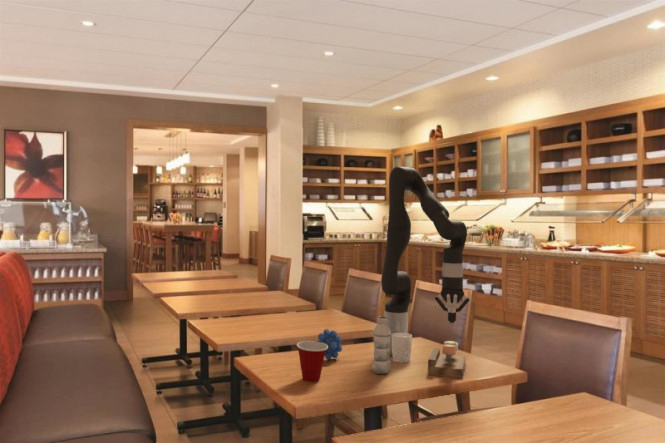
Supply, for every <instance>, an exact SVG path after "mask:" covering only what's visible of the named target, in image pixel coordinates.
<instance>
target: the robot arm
mask: <svg viewBox="0 0 665 443" xmlns="http://www.w3.org/2000/svg"><path fill="white" fill-rule="evenodd" d="M388 178H389V181H388V182H389V184H388V186H389V187H388V191H389V193H388V194H389V199H388V200H389V206H388V222H387V229H386V232H387V233H386V243H385V244H386V246H385V247H386V248H385V255H384V262H383V267H382V272H381V283H380V284H381V285H380V286H381V290H382V291H383V293H384V294H386V295H387V296H392V297H391V299H390V300H389V301H388V302H386V303H385V305H384V317H387V325H388V327H389V329H390V331H391V335H390V342H389V356H392V357H393V353H392V334H393V333H408V319H409V318H408V317H409V314H408V312H409V307H410V303H411V292H412V291H411V290H412V282H411V277H410V275H409V274H408V272H406V271H402V270H401V271H400V270H399V263H400V260H401V258H402V256H403V254H404V252H405V251H406V249H407V247H408V245H409V243H410V240H411V230H412V229H411V228H412V222H411V219H410V217H409V216H410V215H409V212H408V210H407V208H406V205H405V192H406V191H410V192H411V193H413V194H414V195H415V196H416V197H417V198H418V200H419V203H420V208H421V210H422V212H423V213H424V214H425V215H426V217H428V219H429V220H430V221H431V222H432V223H433V225H434V228H435V229H436V231H437V234H438V235H439V237H441V238H442V239H444V240H446V241H450V242H449V245H448V246H446V247H444V248H443V251H442V267H441V268H442V269H441V291H440V293H439V294H438V295H435V297H434V300H435V301H436V302H437V304H438V305H439V306H440V308H441V309H442V310H443V312H444V311H445V312H447V321H448V322H449V324H454V323H455V322H456V321H457V313H459V312H461V311H462V310H463V309H464V307H465V306H466V305H467V304H468V303H469V301H470V297H469V296H466V295H465V292H464V286H463V285H464V265H463V262H464V260H463V255H464V254H463V251H464V248H465V245H466V241H467V237H468V228H467V225H466V224H465V223H464V222H463V221H461V220H450V219H449V218H450V212H449V211H448V209H447V208H446V207H445V206H444V205H443V204H442V203H441V202H440V201H439V200H438V199H437V198H436V196H435V195H434V194H433V192H432V191H431V190H430V188H429V187H428V185H427V184H426V182H425V181H424V179H423V178H422V176H421V175H420V172H418V170H417V169H415V168H413V167H410V166H395V167H393V168H392V169H391V171H390V174H389V177H388ZM442 300H444V301H445V303H446V304H447V305H445V303H444V302H443V301H442ZM461 300H462V302H461V303H460V305H459V306H458V307H457V305H458V303H459V302H460V301H461Z"/></svg>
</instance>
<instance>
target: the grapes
mask: <svg viewBox="0 0 665 443" xmlns="http://www.w3.org/2000/svg"><path fill="white" fill-rule="evenodd" d="M317 338H318V340H317V341H316V342H320V343H324V344H326V345H327V346H328V349H327V350H326V353H325V356H324V359H326V360H328V361H330V360H331V359H332V358H333V359H337V358H339V353H340V352H342V350H343V346H342V345H341V344H342V338H341V336H338V333H337V331H336V330H329V329H328V328H325V329H324V330H323V332H320V333H318V335H317Z"/></svg>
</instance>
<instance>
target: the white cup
mask: <svg viewBox="0 0 665 443" xmlns="http://www.w3.org/2000/svg"><path fill="white" fill-rule="evenodd" d="M412 342H413V335H412V333H408V332H407V333H393V334H392V353H393V356H392V361H393V362H395V363H400V364H401V363H402V364H403V363H410V362H411V354H412Z"/></svg>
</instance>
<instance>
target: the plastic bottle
mask: <svg viewBox="0 0 665 443" xmlns="http://www.w3.org/2000/svg"><path fill="white" fill-rule="evenodd" d="M376 323H377V324H376V325H375V327H374V329H373V330H372V335H373V347H374V350H373V359H372V364H371V366H372V371H373V372H374V373H375V374H377V375H378V374H379V375H384V374H385V375H386V374H389V372H390V371H391V359H390V355H389V342H390V335H391V331H390V329H389V327H388V325H387V317H385V315H384V316H380V315H379V316H377V317H376Z"/></svg>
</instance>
